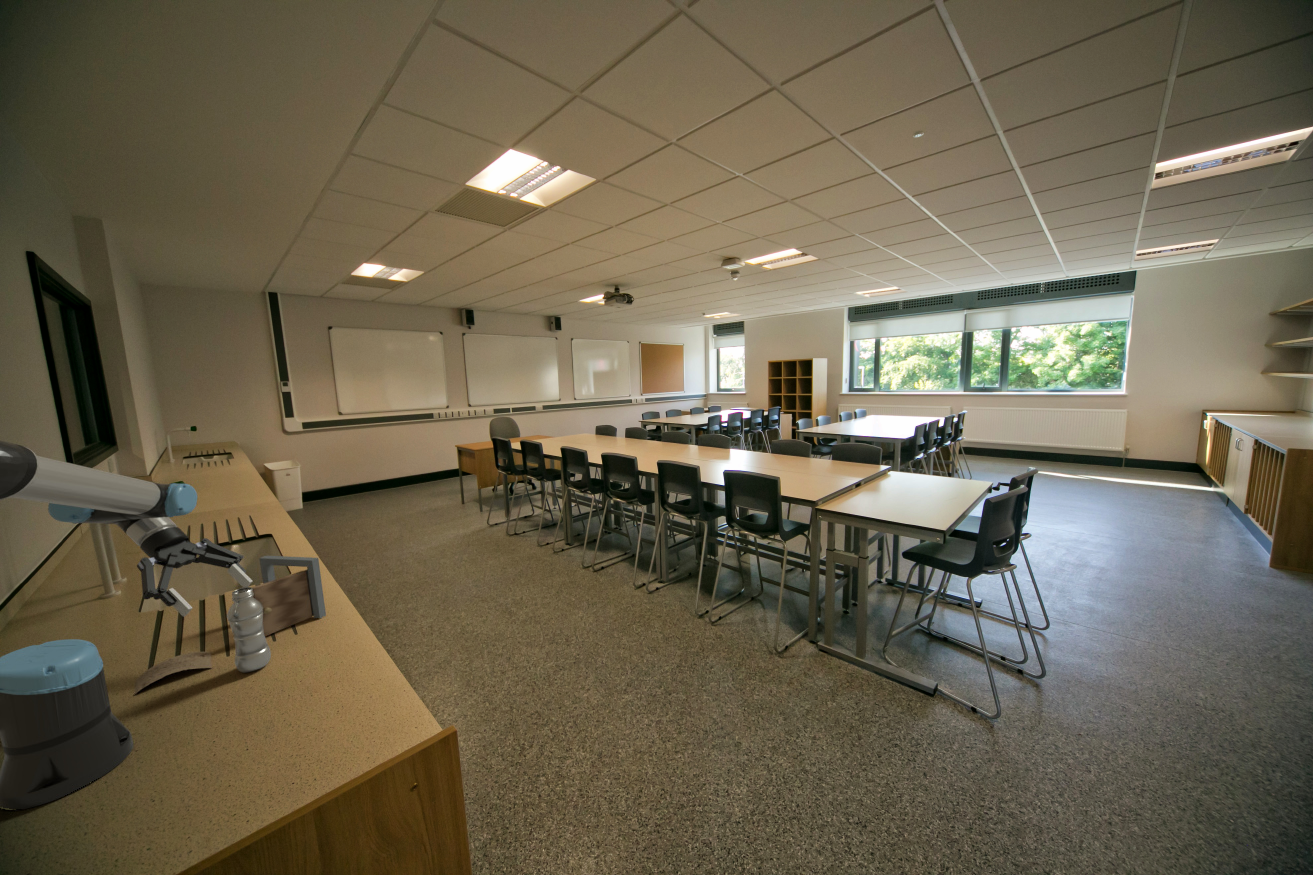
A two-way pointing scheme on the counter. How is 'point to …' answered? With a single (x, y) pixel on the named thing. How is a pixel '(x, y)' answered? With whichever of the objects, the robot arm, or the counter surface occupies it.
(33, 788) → the robot arm
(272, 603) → the door
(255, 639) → the silver metal bottle
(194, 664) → the clay tablet
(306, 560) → the door frame
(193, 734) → the counter surface
